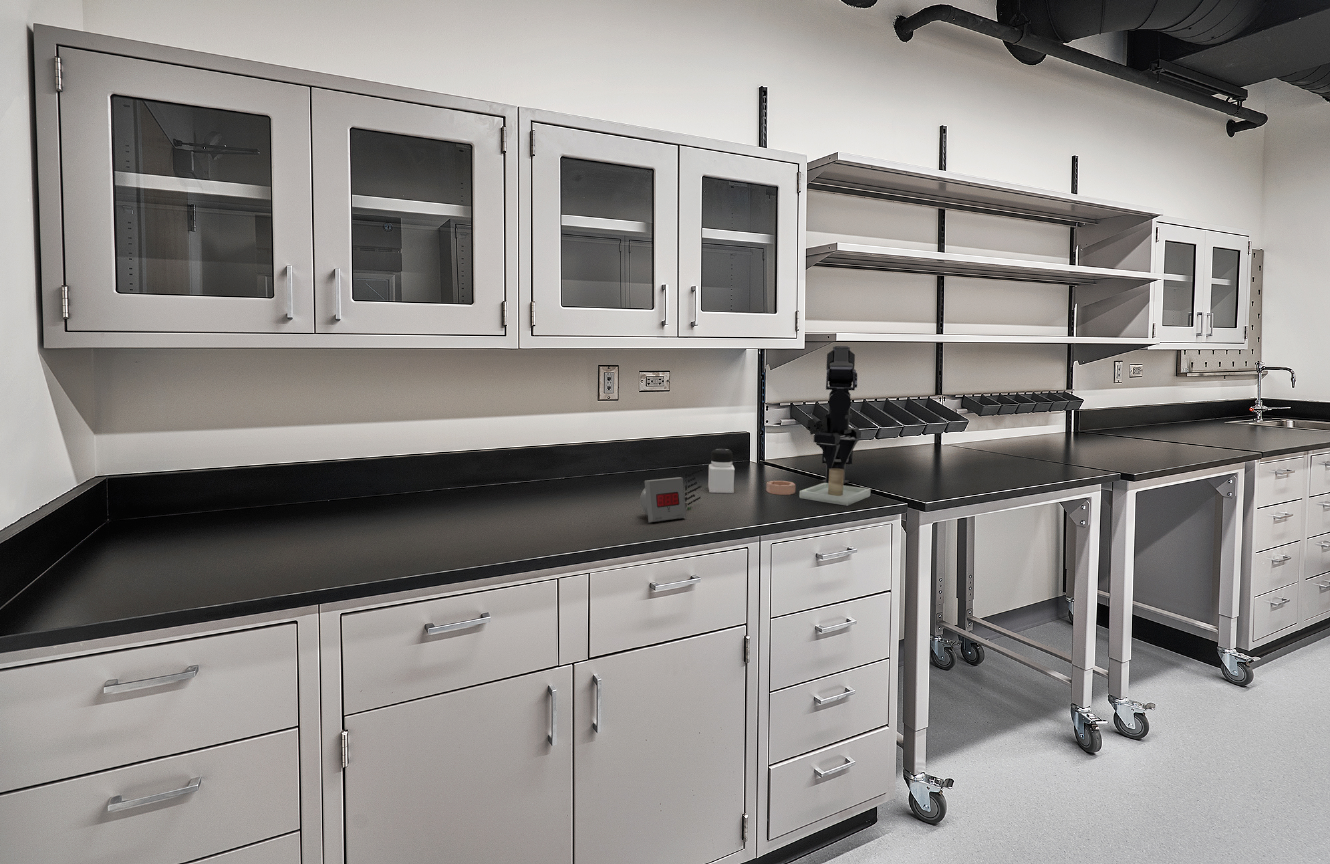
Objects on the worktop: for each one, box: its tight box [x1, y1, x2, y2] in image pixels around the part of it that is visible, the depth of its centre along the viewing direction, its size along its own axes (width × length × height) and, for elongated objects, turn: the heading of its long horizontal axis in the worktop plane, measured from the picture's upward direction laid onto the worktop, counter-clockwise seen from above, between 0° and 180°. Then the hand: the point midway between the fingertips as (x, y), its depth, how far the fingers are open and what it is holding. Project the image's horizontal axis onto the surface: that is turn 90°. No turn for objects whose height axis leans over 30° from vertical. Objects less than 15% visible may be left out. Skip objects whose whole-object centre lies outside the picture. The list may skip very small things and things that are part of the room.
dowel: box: [828, 468, 844, 496], centre depth 195 cm, size 4×4×7 cm
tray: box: [799, 482, 871, 507], centre depth 196 cm, size 16×14×2 cm
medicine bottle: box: [707, 448, 736, 494], centre depth 202 cm, size 7×7×12 cm
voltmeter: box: [639, 467, 704, 524], centre depth 174 cm, size 27×11×10 cm, turn 157°
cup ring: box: [765, 480, 796, 496], centre depth 202 cm, size 8×8×2 cm
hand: (836, 466), depth 195 cm, fingers open, 9 cm apart
